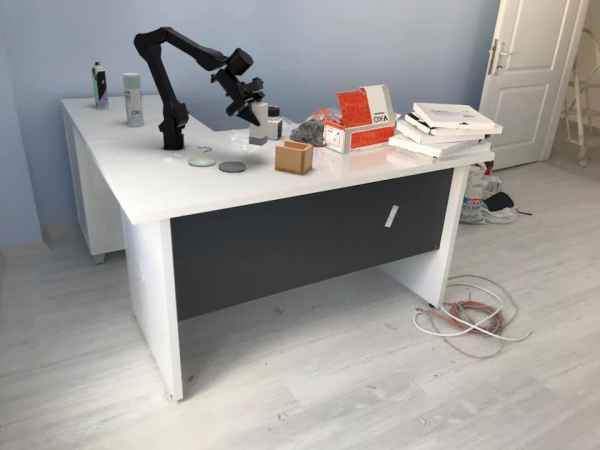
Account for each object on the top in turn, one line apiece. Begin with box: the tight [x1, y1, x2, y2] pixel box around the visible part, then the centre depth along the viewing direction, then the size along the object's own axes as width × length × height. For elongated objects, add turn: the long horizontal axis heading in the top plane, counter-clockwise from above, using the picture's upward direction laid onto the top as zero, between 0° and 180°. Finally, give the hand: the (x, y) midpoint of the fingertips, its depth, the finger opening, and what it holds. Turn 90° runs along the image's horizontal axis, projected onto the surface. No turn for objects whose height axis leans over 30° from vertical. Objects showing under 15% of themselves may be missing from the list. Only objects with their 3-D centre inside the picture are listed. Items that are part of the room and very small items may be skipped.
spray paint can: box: [122, 72, 145, 128], centre depth 197 cm, size 6×6×20 cm
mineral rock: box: [288, 117, 325, 147], centre depth 190 cm, size 13×11×10 cm
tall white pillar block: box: [248, 101, 269, 147], centre depth 162 cm, size 5×5×13 cm
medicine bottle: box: [267, 105, 283, 141], centre depth 194 cm, size 7×7×12 cm
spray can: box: [90, 61, 110, 111], centre depth 219 cm, size 6×6×20 cm
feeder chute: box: [274, 139, 315, 176], centre depth 163 cm, size 10×8×8 cm
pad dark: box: [217, 160, 247, 174], centre depth 162 cm, size 9×9×1 cm
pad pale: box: [187, 155, 217, 168], centre depth 165 cm, size 9×9×1 cm
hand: (262, 124), depth 162 cm, fingers closed on tall white pillar block, 4 cm apart
